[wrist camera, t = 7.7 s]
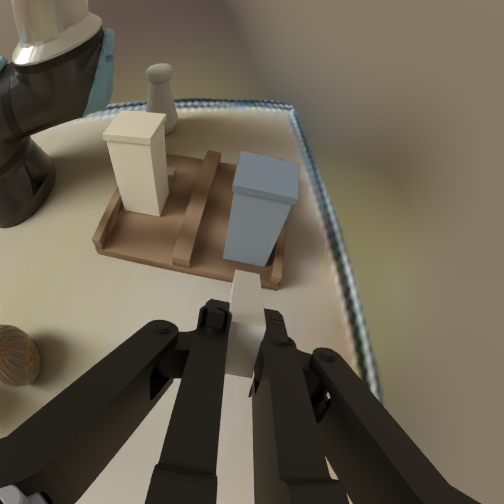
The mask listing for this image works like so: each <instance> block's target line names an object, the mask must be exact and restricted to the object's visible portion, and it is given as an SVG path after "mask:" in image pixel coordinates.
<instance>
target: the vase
mask: <svg viewBox="0 0 504 504" xmlns="http://www.w3.org/2000/svg"><path fill="white" fill-rule="evenodd" d="M39 369H40V355H39V351H38V349H37V347H36V345H35V343H34V341H33V340H32V339H31V338H30V337H29V335H28V334H26V333H25V332H24V331H22V330H21V329H19V328H17V327H15V326H11V325H0V381H1V382H2V383H4V384H7V385H10V386H16V387H20V386H25V385H27V384H29V383H31V382H32V381H33V380H34V379H35V378H36V377H37V375H38V372H39Z"/></svg>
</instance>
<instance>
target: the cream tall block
mask: <svg viewBox="0 0 504 504" xmlns="http://www.w3.org/2000/svg"><path fill="white" fill-rule="evenodd" d="M165 121H166V114H162V113H151V112H139V111H122V110H121V111H120V112H119V114H118V115H117V116H116V117H115V119H114V120H113V121H112V122H111V124H110V125H109V126H108V127H107V129H106V130H105V131H104V133H103V134H102V136H103V140H106V141H107V145H108V150H109V154H110V158H111V162H112V166H113V170H114V173H115V177H116V181H117V184H118V188H119V191H120V195H121V198H122V202H123V205H124V208H125V210H126V211H132V212H137V213H143V214H148V215H154V216H159V217H160V215H161V212H162V210H163V207H164V205H165V202H166V200H167V197H168V195H169V188H168V176H167V164H166V150H165V132H164V123H165Z"/></svg>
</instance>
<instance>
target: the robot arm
mask: <svg viewBox="0 0 504 504" xmlns="http://www.w3.org/2000/svg"><path fill="white" fill-rule="evenodd" d="M11 1H12V6H13V12H14V17H15V22H16V26H17V31H18V35H19V39H20V41H19V43H18V45H17V47H16V49H15V51H14V53H13V55H12V60H13V62H12V63H10V64H7V62H8V61H7V59H6V58H5V57H4V56H0V227H1V228H6V227H11V226H14V225H16V224H18V223H20V222H22V221H24V220H25V219H27V218H28V217H29V216H30V215H32V214H33V213H34V212H35V211H36V210H37V209H38V208H39V207H40V206H41V205H42V203H43V202H44V201H45V199H46V198H47V197H48V195H49V193H50V191H51V189H52V187H53V184H54V181H55V169H54V166H53V164H52V162H51V159H50V158H49V156H48V155H47V154H46V153H45V152H44V151H43V150H42V149H41V148H40V147H39V146H38V145H37V144H36V143H35V142H34V141H33V140H32V139H31V137H30V135H33V134H35V133H38V132H40V131H43V130H46V129H48V128H51V127H54V126H57V125H59V124H62V123H65V122H68V121H71V120H74V119H78V118H84V117H85V116H86V115H88V114H91V113H94V112H97V111H100V110H103V109H104V108H106V107H107V105H108V104H109V103H110V101H111V98H112V90H113V65H114V62H113V58H114V31H113V29H107V28H104V29H103V30H102V20H101V18H100V17H98V16H96V15H94V14H92V13H90V12H89V11H88V0H11ZM253 372H254V379H253V383H252V386H251V389H250V393H249V396H248V397H251V395H252V415H253V458H254V498H255V504H349V501H348V497H347V494H348V496H349V498H350V499H351V501H352V503H353V504H481V503H479V502H477V501H475V500H474V499H472V498H470V497H469V496H467V495H465V494H464V493H462V492H461V491H459V490H457V489H455V488H454V487H452V486H451V485H449V484H448V482H447V481H446V480H445V479H444V478H443V477H442V475H441V474H440V473H439V472H438V470H437V469H436V468H435V467H434V466H433V465H432V463H431V462H430V461H429V460H428V459H427V457H426V456H425V455H424V454H423V453H422V452H421V450H420V449H419V448H418V447H417V446H416V445H415V443H414V442H413V441H412V440H411V439H410V437H409V436H408V435H407V434H406V433H405V431H404V430H403V429H402V428H401V427H400V425H399V424H398V423H397V422H396V421H395V420H394V418H393V417H392V416H391V415H390V414H389V412H388V411H387V410H386V409H385V408H384V406H383V405H382V404H381V403H380V402H379V401H378V399H377V398H376V397H375V396H374V395H373V393H372V392H371V391H370V390H369V389H368V388H367V386H366V385H365V384H364V383H363V382H362V380H361V379H360V378H359V377H358V376H357V375H356V373H355V372H354V371H353V370H352V369H351V367H350V366H349V365H348V364H347V363H346V362H345V360H344V359H343V358H342V357H341V356H340V355H339V354H338V353H337V352H335V351H333V350H332V349H329V348H316V349H315V350H314V351H313V353H312V355H311V354H308V353H305V352H302V351H299V350H298V349H297V348H296V344H295V342H294V340H292V339H291V338H290V337H288V335H287V331H286V327H285V323H284V319H283V316H282V315H281V314H280V313H279V312H278V311H276V310H270V309H265V308H264V306H263V298H262V290H261V282H260V274H256V273H251V272H246V271H241V270H236V269H235V274H234V279H233V283H232V288H231V293H230V298H229V302H224V301H219V300H214V299H211V300H209V301H208V302H206V305H205V306H203V307H201V309H200V312H199V318H198V325H197V329H196V330H193V331H189V332H179V330H178V327H177V326H176V325H175V324H173V323H171V322H169V321H166V320H154V321H151V322H149V323H147V324H146V325H145V326H143V327H142V328H141V329H140V330H138V331H137V332H136V333H135V334H133V335H132V336H131V337H130V338H128V339H127V340H126V341H125V342H123V343H122V344H121V345H120V346H118V347H117V348H116V349H114V350H113V351H112V352H111V353H109V354H108V355H107V356H106V357H104V358H103V359H102V360H101V361H99V362H98V363H97V364H96V365H94V366H93V367H92V368H91V369H89V370H88V371H87V372H86V373H84V374H83V375H82V376H81V377H79V378H78V379H77V380H76V381H74V382H73V383H72V384H71V385H70V386H68V387H67V388H66V389H65V390H63V391H62V392H61V393H60V394H58V395H57V396H56V397H55V398H53V399H52V400H51V401H50V402H48V403H47V404H46V405H45V406H44V407H42V408H41V409H40V410H39V411H37V412H36V413H35V414H34V415H33V416H31V417H30V418H29V419H28V420H26V421H25V422H24V423H23V424H21V425H20V426H19V427H18V428H17V429H15V430H14V431H13V432H12V433H11V434H9V435H8V436H7V437H4V438H1V439H0V504H75V503H76V502H77V501H78V500H79V499H80V497H81V496H82V495H83V494H84V493H85V491H86V490H87V489H88V488H89V487H90V485H91V484H92V483H93V482H94V480H95V479H96V478H97V477H98V476H99V474H100V473H101V472H102V471H103V469H104V468H105V467H106V466H107V465H108V463H109V462H110V461H111V460H112V458H113V457H114V456H115V455H116V453H117V452H118V451H119V450H120V448H121V447H122V446H123V445H124V443H125V442H126V441H127V440H128V439H129V437H130V436H131V435H132V433H133V432H134V431H135V430H136V428H137V427H138V426H139V425H140V423H141V422H142V421H143V420H144V418H145V417H146V416H147V415H148V413H149V412H150V411H151V410H152V408H153V407H154V406H155V404H156V403H157V402H158V401H159V399H160V398H161V397H162V396H163V394H164V393H165V392H166V390H167V389H168V388H169V387H170V385H171V384H172V383H173V380H174V378H182V379H181V383H180V386H179V390H178V393H177V397H176V400H175V404H174V407H173V411H172V415H171V418H170V422H169V426H168V429H167V433H166V437H165V440H164V444H163V448H162V452H161V456H160V459H159V462H158V464H156V465H155V467H154V470H153V474H152V477H151V481H150V485H149V489H148V493H147V497H146V501H145V504H216V498H217V476H216V465H217V453H218V441H219V430H220V418H221V407H222V397H223V386H224V376H225V374H230V375H236V376H243V377H249V378H252V375H253ZM327 393H329V394H330V399H328V397H327V396H326V395H327ZM324 454H325V455H324ZM325 456H326V458H327V460H328V462H329V463H330V465H331V467H332V469H333V470H334V472H335V474H336V475H337V477H338V479H339V480H335V479H332V478H331V477H330V474H329V471H328V467H327V463H326V459H325ZM346 493H347V494H346Z"/></svg>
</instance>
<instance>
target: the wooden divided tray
mask: <svg viewBox="0 0 504 504" xmlns="http://www.w3.org/2000/svg"><path fill="white" fill-rule="evenodd" d="M220 159H221V153H219V152H213V151H207V154H206V157H205V159H204V160H202V159H196V158H190V157H183V156H177V155H170V154H166V164H167V176H168V188H169V195H168V197H167V200H166V202H165V205H164V207H163V210H162V212H161V215H160V217H159V216H154V215H148V214H143V213H137V212H132V211H126V210H125V208H124V205H123V202H122V198H121V195H120V191H119V188H118V187H117V189H116V191H115V193H114V194H113V196H112V198H111V200H110V202H109V204H108V206H107V208H106V210H105V212H104V215H103V217H102V219H101V221H100V223H99V225H98V227H97V229H96V232H95V234H94V236H93V238H92V241H93V243H94V245H95V246H96V247H95V249H96V251H97V252H98V254H101V255H106V256H110V257H114V258H118V259H123V260H127V261H132V262H136V263H141V264H145V265H150V266H154V267H159V268H163V269H168V270H173V271H178V272H182V273H187V274H192V275H197V276H202V277H207V278H212V279H217V280H222V281H227V282H232V283H233V279H234V274H235V269H236V270H241V271H246V272H251V273H256V274H260V282H261V288H264V289H270V290H277V288H278V287H279V283H280V280H281V278H282V267H283V255H284V243H285V231H286V220H285V222H284V225H283V227H282V229H281V231H280V234H279V236H278V238H277V240H276V243H275V245H274V247H273V249H272V252H271V254H270V256H269V258H268V261H267V263H266V265H265V267H263V266H258V265H253V264H248V263H242V262H237V261H232V260H227V259H223V254H224V248H225V242H226V236H227V230H228V224H229V218H230V212H231V206H232V200H233V195H234V192H232V185H233V181H234V177H235V173H236V169H237V166H235V165H230V164H225V163H220Z"/></svg>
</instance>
